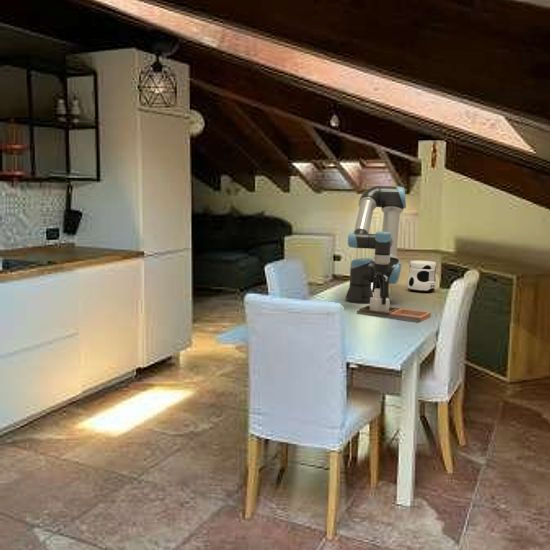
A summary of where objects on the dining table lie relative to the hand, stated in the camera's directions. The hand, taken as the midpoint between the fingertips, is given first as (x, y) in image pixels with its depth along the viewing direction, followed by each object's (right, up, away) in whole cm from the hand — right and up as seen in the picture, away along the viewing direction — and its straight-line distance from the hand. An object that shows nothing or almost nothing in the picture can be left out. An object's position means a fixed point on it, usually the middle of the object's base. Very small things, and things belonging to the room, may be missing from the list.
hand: (379, 309), depth 300 cm
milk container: (+38, +7, +71) cm, 80 cm away
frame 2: (+13, -3, -8) cm, 16 cm away
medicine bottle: (0, -2, 0) cm, 2 cm away
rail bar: (+2, -3, -12) cm, 12 cm away
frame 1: (0, -2, 0) cm, 2 cm away
